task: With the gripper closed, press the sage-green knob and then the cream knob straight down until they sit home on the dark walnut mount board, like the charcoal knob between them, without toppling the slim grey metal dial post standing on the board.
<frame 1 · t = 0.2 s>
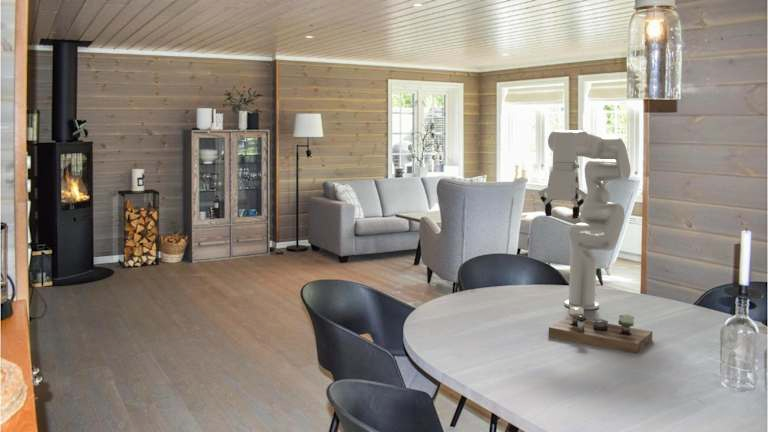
hand: (561, 217, 241), 36 cm above the table, tool pointing down, fingers open, 9 cm apart
knob cream: (576, 316, 228), point 6 cm above the table, slide at 0.0 cm
mount: (599, 338, 224), on the table
knob sage: (626, 324, 218), point 6 cm above the table, slide at 0.0 cm
dial post: (580, 331, 221), point 3 cm above the table, touching mount
knob charcoal: (600, 329, 223), point 3 cm above the table, slide at -2.8 cm
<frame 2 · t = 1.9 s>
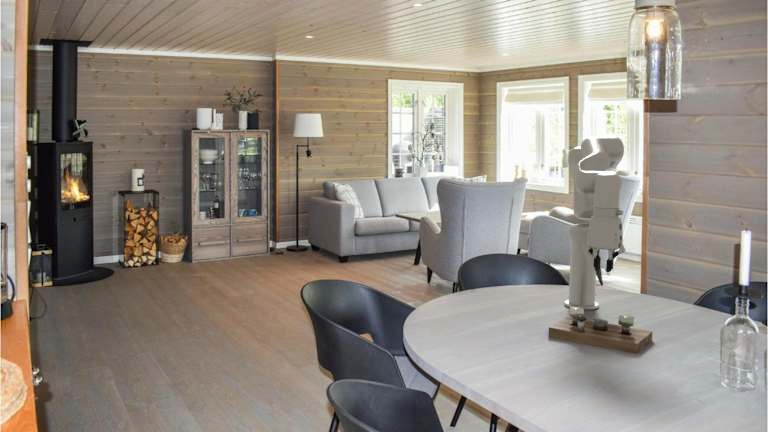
hand: (603, 270, 221), 22 cm above the table, tool pointing down, fingers open, 3 cm apart
nothing on the table moved.
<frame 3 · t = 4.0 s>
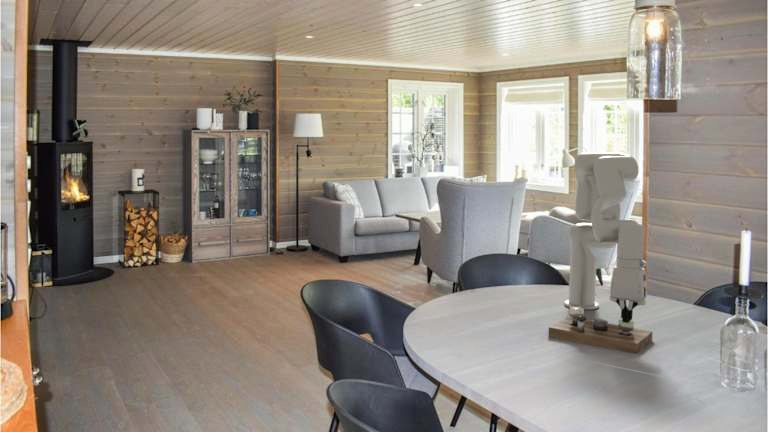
hand: (626, 321, 218), 7 cm above the table, tool pointing down, fingers closed
knob sage: (625, 329, 219), point 4 cm above the table, slide at -1.5 cm, touching gripper
everything else where it was.
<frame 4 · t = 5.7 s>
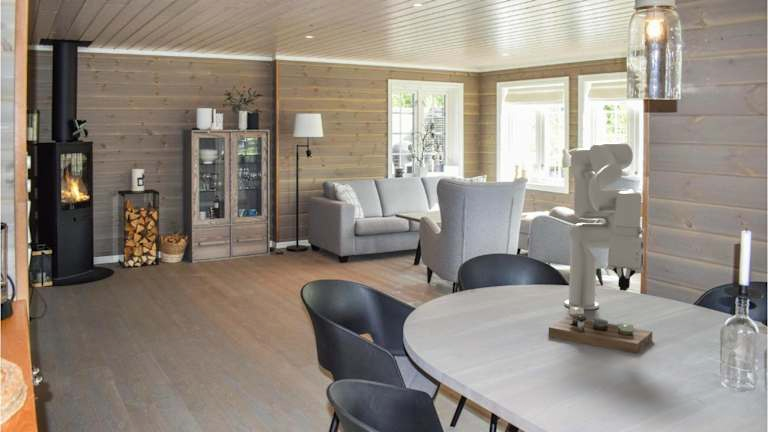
hand: (623, 289, 218), 17 cm above the table, tool pointing down, fingers closed
knob sage: (625, 333, 219), point 3 cm above the table, slide at -2.8 cm
everything else where it was.
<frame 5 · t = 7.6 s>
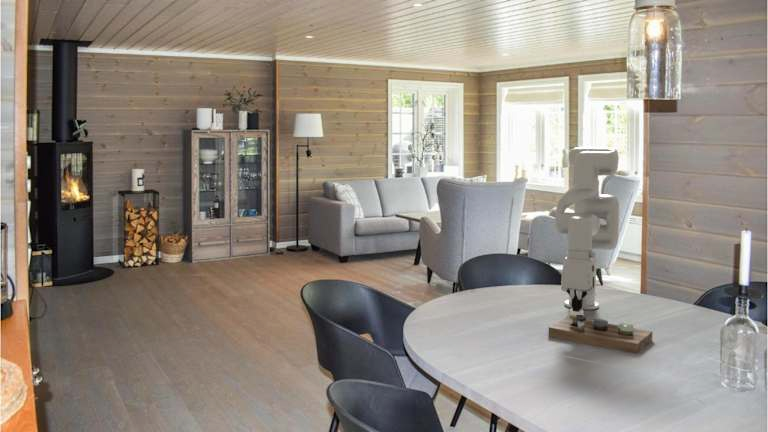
hand: (576, 310, 227), 8 cm above the table, tool pointing down, fingers closed
knob cream: (576, 318, 228), point 5 cm above the table, slide at -0.6 cm, touching gripper
everything else where it was.
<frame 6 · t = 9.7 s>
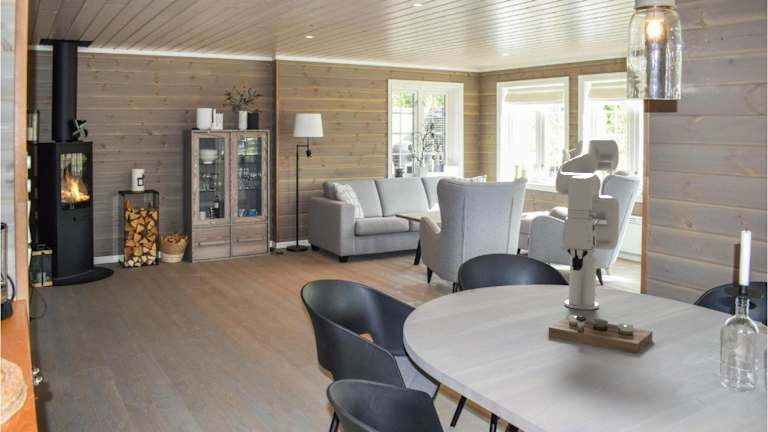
hand: (577, 269, 229), 21 cm above the table, tool pointing down, fingers closed
knob cream: (576, 324, 228), point 3 cm above the table, slide at -2.8 cm
everything else where it was.
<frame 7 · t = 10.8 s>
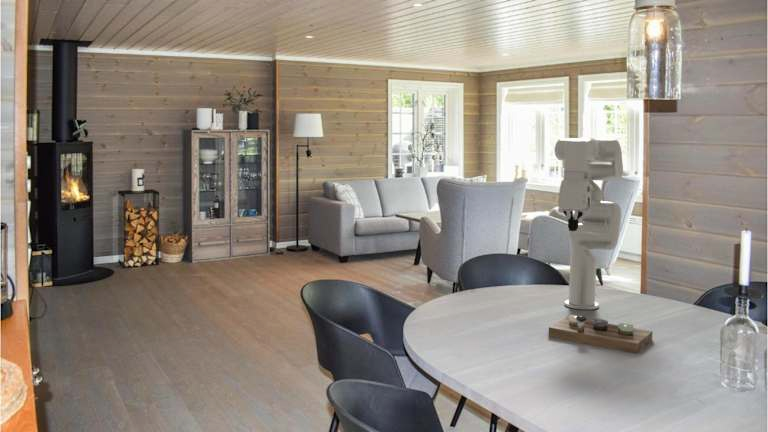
hand: (572, 230, 238), 32 cm above the table, tool pointing down, fingers closed
nothing on the table moved.
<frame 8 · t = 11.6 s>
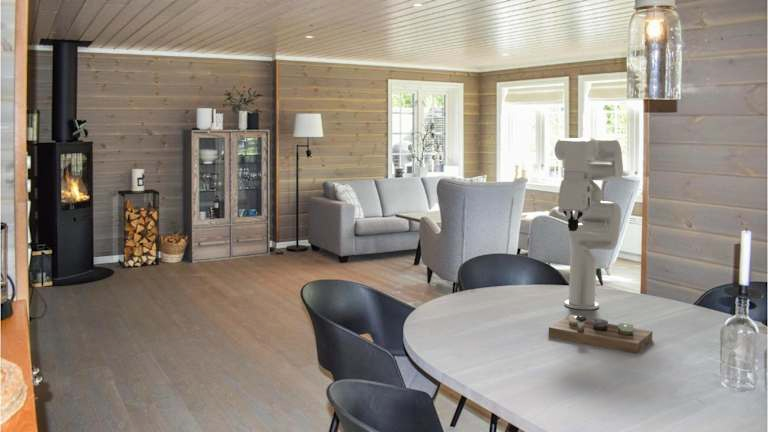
hand: (572, 230, 238), 32 cm above the table, tool pointing down, fingers closed
nothing on the table moved.
at the end: knob sage slide at -2.8 cm; knob cream slide at -2.8 cm; dial post tilted 0° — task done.
